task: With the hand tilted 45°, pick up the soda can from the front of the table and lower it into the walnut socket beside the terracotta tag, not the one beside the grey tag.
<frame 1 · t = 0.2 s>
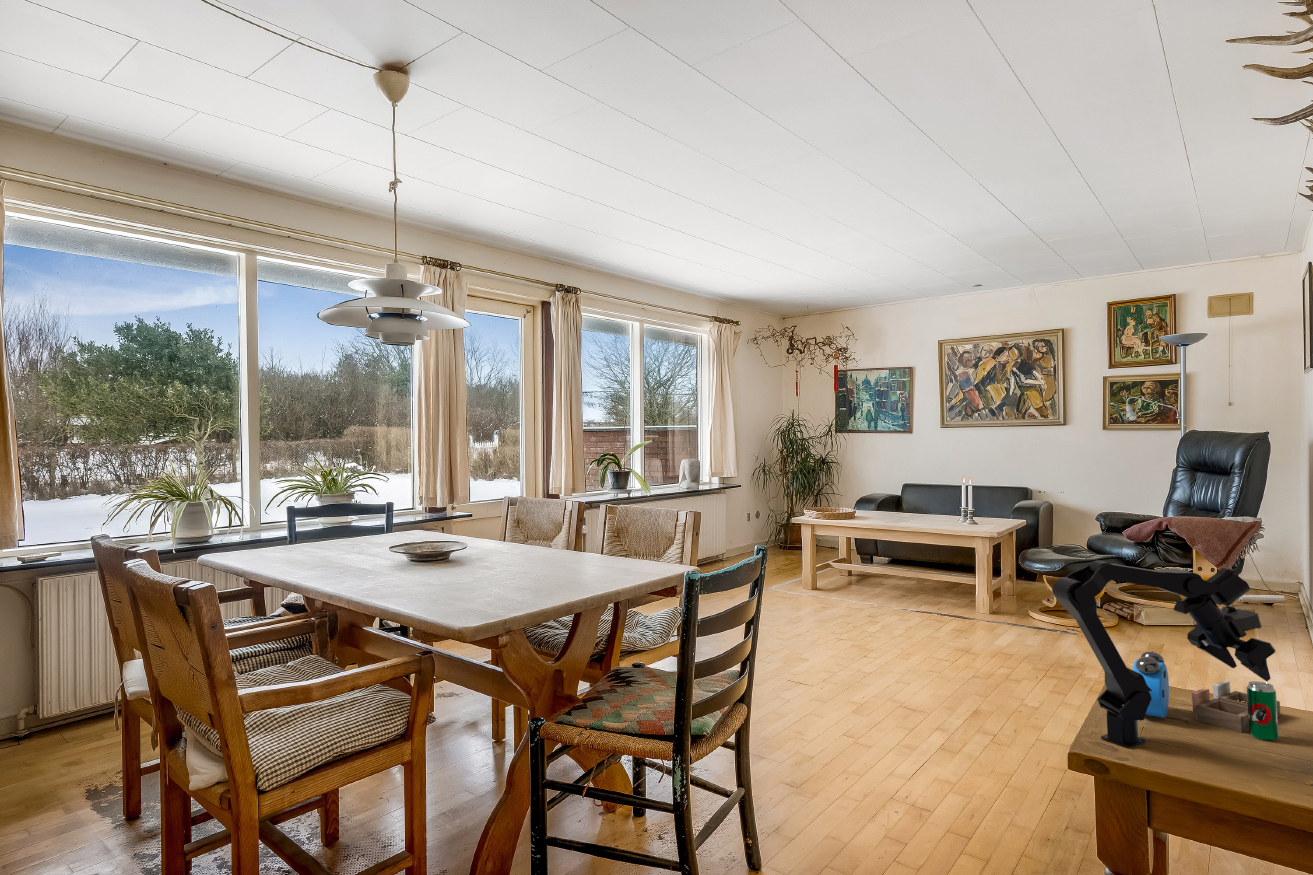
hand: (1251, 673, 159), 14 cm above the table, tool tilted 35°, fingers open, 9 cm apart
soda can: (1263, 738, 159), on the table
socket block: (1238, 717, 170), on the table
alarm clock: (1152, 715, 174), on the table
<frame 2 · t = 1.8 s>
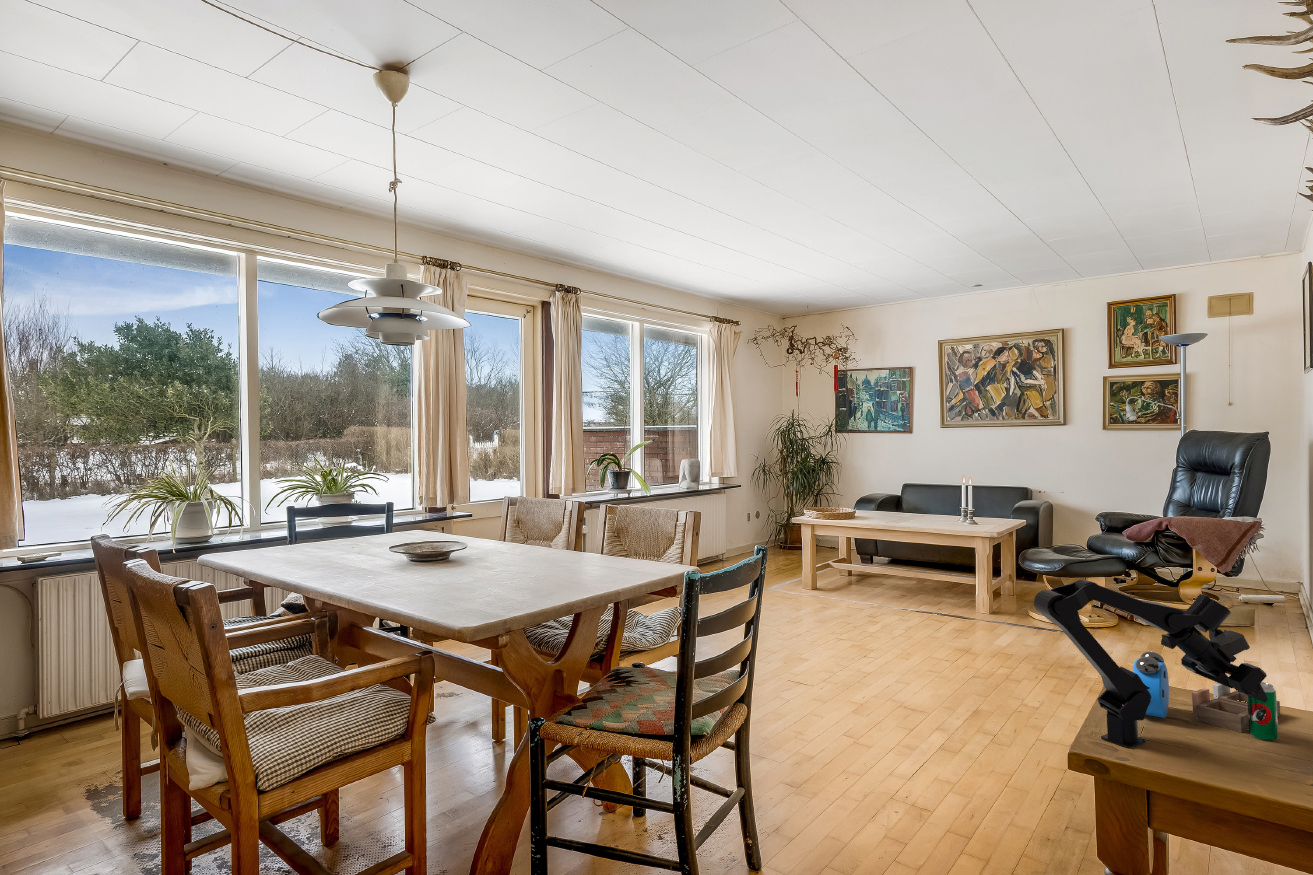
hand: (1249, 693, 159), 10 cm above the table, tool tilted 45°, fingers open, 9 cm apart
nothing on the table moved.
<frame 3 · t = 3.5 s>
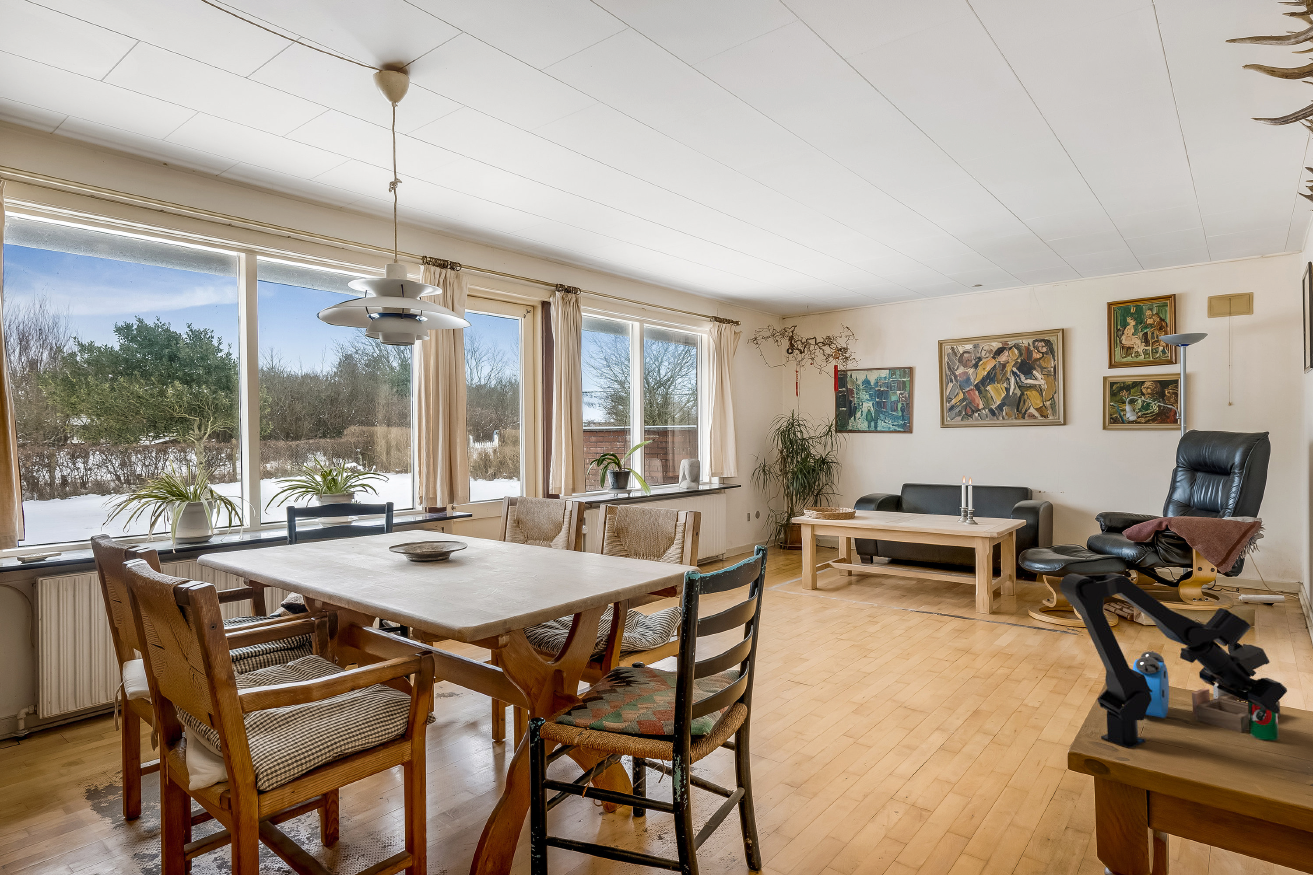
hand: (1268, 707, 159), 7 cm above the table, tool tilted 45°, fingers closed on soda can, 5 cm apart
soda can: (1263, 738, 159), on the table, touching gripper
everything else where it was.
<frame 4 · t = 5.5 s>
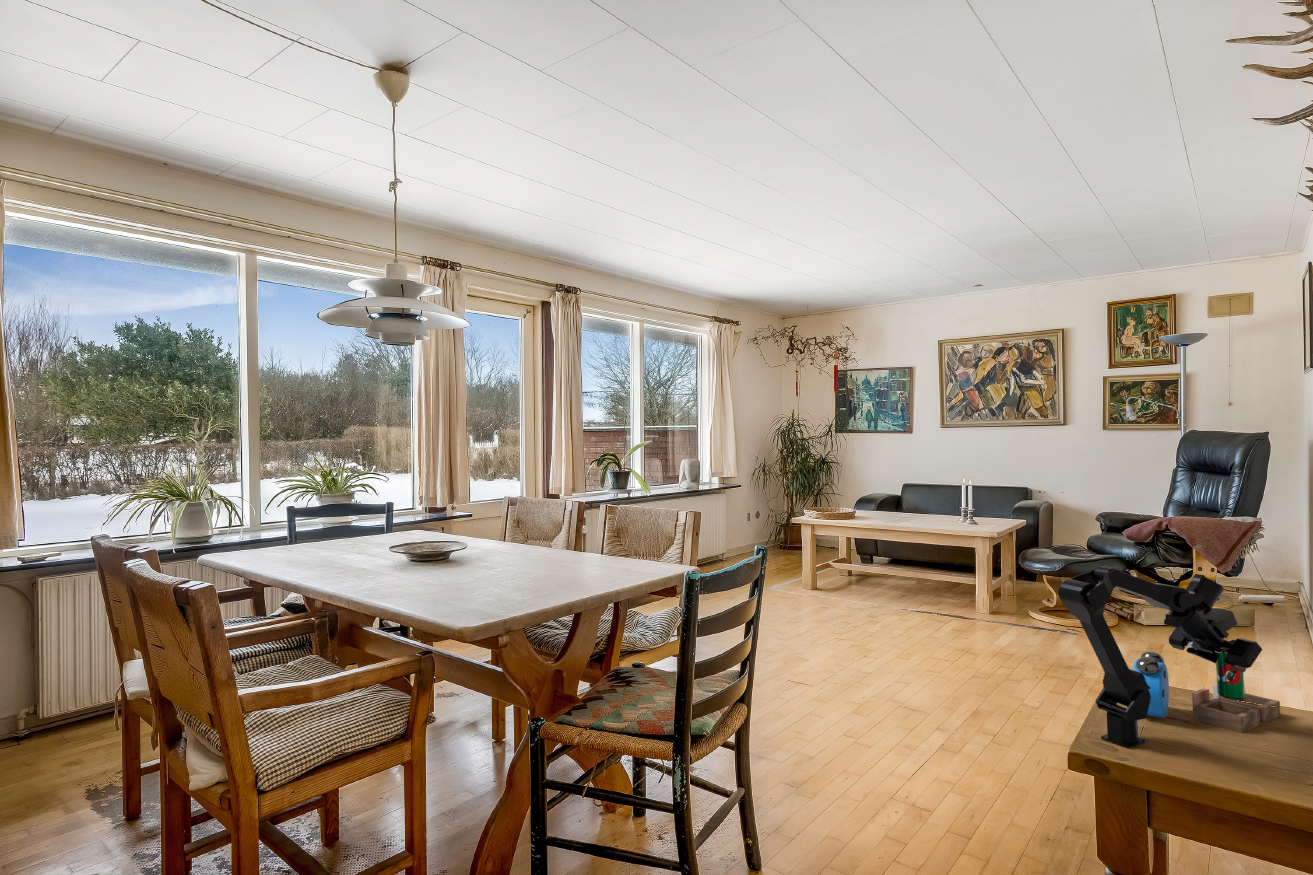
hand: (1233, 667, 167), 13 cm above the table, tool tilted 45°, fingers closed on soda can, 5 cm apart
soda can: (1231, 697, 167), point 6 cm above the table, touching gripper
everything else where it was.
when the fingers open (7 cm above the table, at t = 7.4 s): soda can stays where it is, resting in socket block.
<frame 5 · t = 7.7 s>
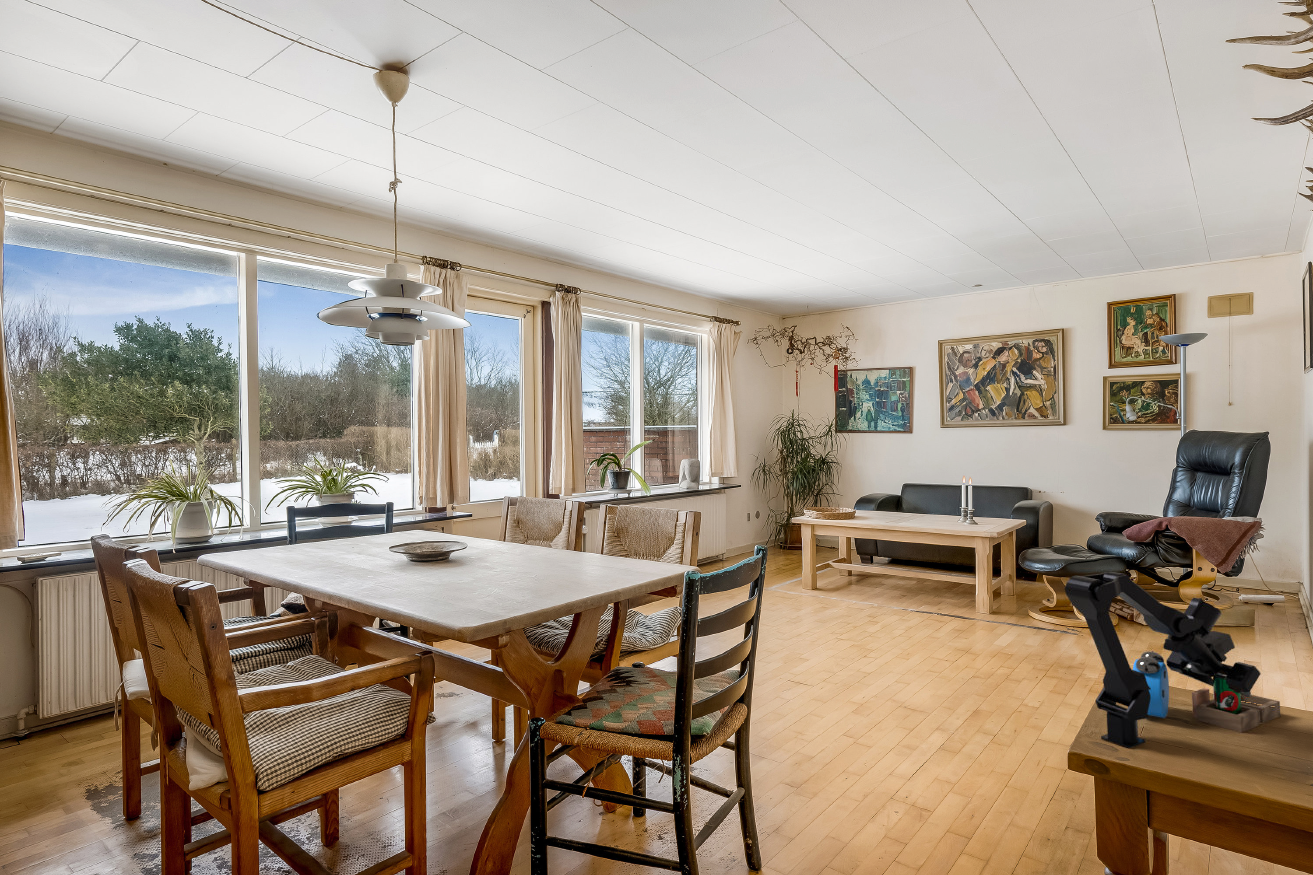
hand: (1230, 689, 168), 8 cm above the table, tool tilted 45°, fingers open, 8 cm apart
soda can: (1228, 723, 167), resting in socket block
everything else where it was.
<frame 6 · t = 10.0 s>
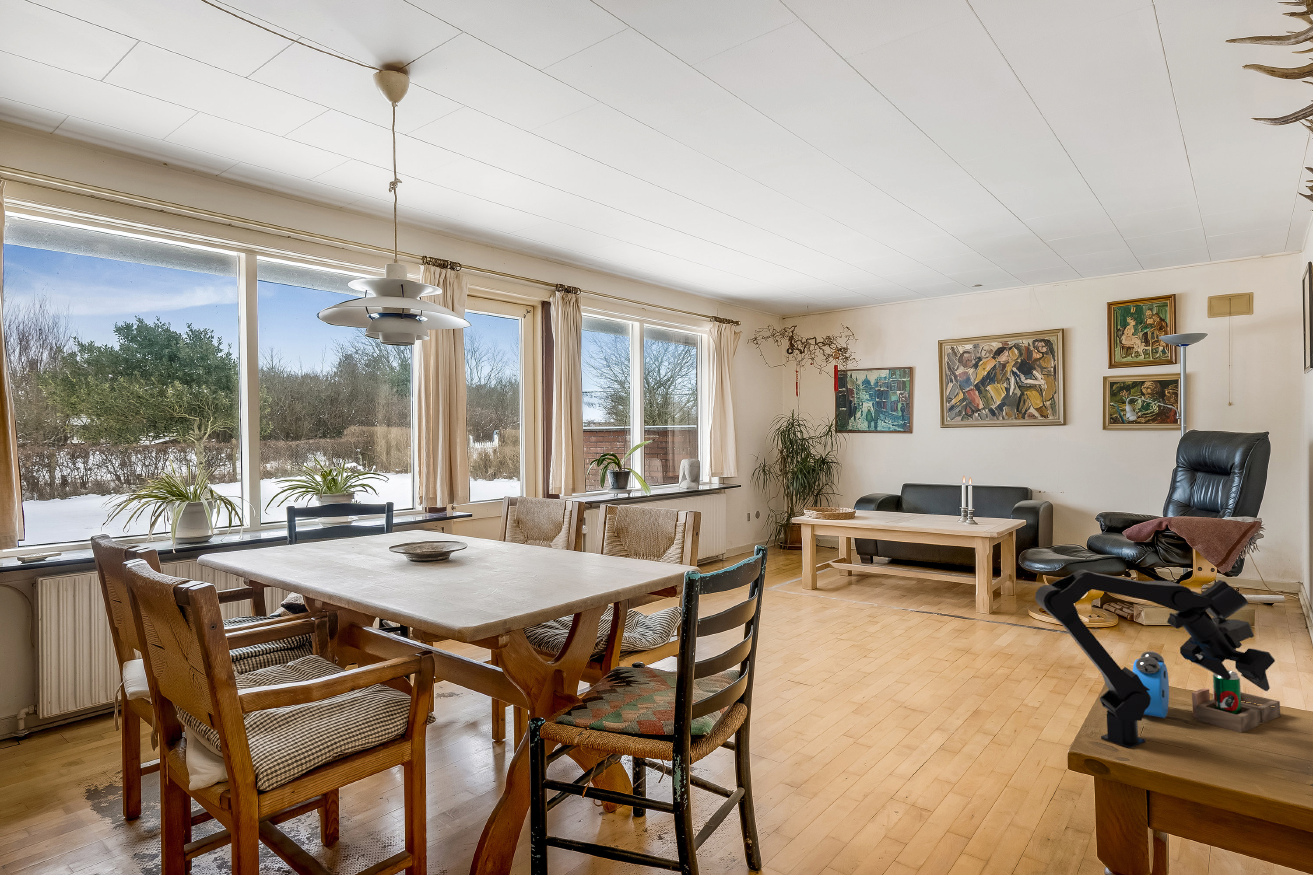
hand: (1247, 684, 157), 13 cm above the table, tool tilted 35°, fingers open, 9 cm apart
nothing on the table moved.
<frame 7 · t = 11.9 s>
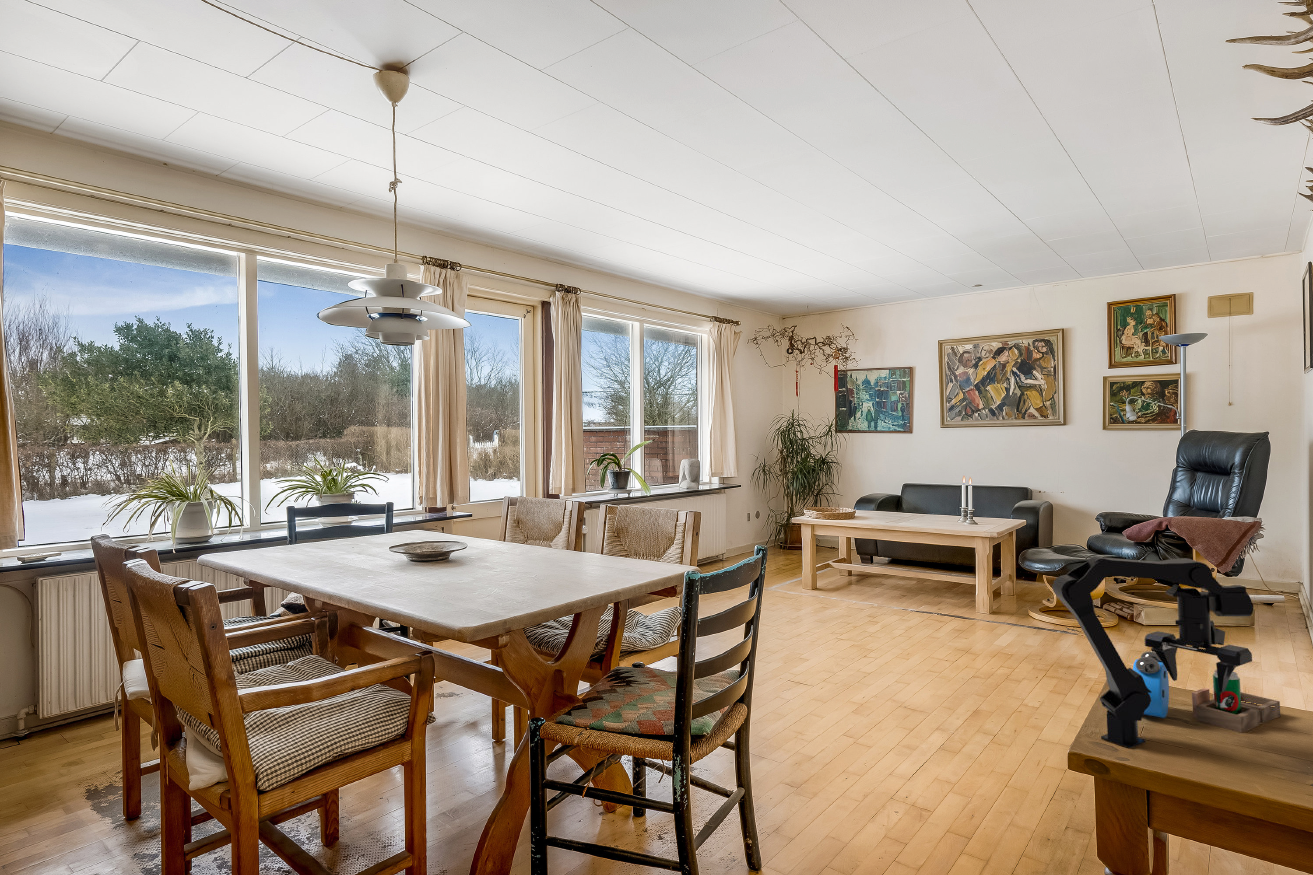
hand: (1197, 685, 157), 13 cm above the table, tool pointing down, fingers open, 9 cm apart
nothing on the table moved.
at the end: soda can 0.2 cm from the target spot on the socket block, point 0.0 cm above the socket block's base; soda can tilted 0°; the gripper is holding nothing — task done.
